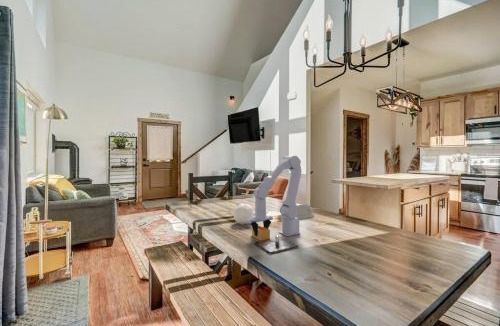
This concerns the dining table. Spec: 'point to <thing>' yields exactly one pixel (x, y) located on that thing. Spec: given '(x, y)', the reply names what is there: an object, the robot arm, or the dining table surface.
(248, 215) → the geodesic sphere
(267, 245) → the keeper plate
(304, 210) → the grey stone
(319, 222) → the dining table surface
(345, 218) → the dining table surface
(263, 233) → the orange hollow rectangular block
